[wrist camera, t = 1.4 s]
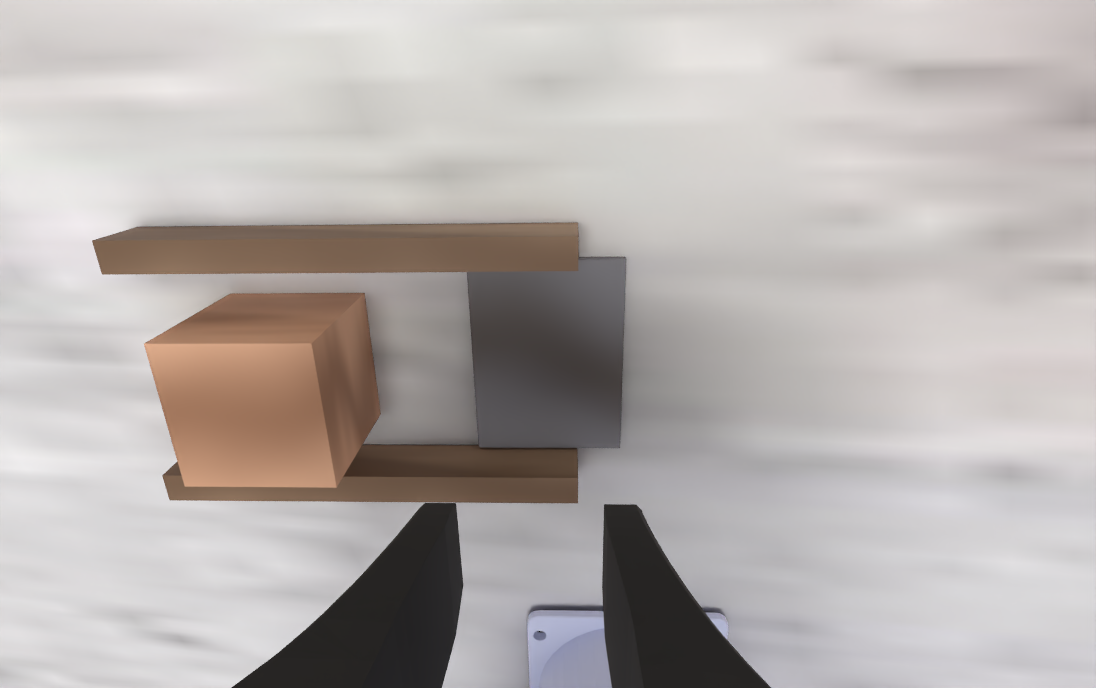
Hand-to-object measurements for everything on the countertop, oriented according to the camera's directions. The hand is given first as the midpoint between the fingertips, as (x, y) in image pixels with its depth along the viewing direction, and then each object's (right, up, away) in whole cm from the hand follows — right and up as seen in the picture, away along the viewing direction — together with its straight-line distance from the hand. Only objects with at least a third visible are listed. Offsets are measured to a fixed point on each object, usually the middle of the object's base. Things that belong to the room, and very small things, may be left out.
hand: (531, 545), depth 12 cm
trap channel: (-6, +3, +9) cm, 11 cm away
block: (-8, +4, +9) cm, 13 cm away
